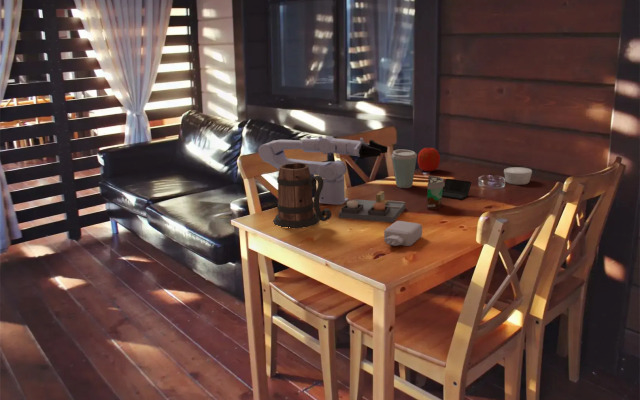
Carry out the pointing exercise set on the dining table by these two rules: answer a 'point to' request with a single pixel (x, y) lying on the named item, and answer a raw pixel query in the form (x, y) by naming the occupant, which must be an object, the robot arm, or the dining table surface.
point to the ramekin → (517, 175)
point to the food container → (434, 192)
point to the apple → (428, 159)
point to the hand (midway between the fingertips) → (383, 151)
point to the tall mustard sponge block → (381, 197)
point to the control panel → (373, 211)
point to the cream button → (352, 204)
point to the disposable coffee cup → (404, 167)
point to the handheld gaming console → (456, 189)
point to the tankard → (298, 197)
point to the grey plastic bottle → (402, 233)
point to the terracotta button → (379, 206)
